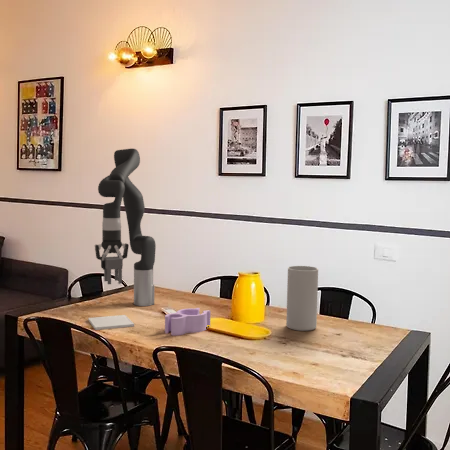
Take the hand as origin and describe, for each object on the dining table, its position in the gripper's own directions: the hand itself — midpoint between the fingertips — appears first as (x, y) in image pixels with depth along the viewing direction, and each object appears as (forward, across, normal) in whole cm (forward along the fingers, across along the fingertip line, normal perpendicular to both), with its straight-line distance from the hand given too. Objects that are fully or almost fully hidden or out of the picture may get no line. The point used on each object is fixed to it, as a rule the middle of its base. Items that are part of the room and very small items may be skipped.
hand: (111, 268), depth 235 cm
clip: (+24, -27, +18) cm, 40 cm away
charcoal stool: (0, 0, +6) cm, 6 cm away
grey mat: (+23, 0, -2) cm, 24 cm away
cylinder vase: (+24, -73, +31) cm, 83 cm away
